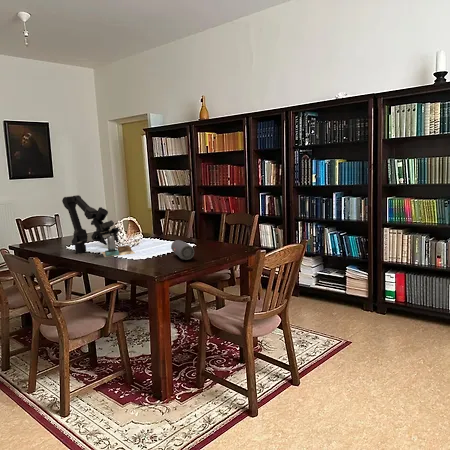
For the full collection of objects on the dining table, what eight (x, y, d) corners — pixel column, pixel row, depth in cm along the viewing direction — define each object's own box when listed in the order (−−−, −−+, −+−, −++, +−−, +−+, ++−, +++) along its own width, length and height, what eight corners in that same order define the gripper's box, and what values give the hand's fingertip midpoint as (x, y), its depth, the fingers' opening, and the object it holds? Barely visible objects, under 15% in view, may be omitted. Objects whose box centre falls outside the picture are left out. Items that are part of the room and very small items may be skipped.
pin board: (105, 258, 267) (104, 253, 267) (101, 253, 284) (101, 248, 283) (135, 255, 274) (135, 249, 274) (130, 250, 291) (130, 245, 290)
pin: (107, 255, 271) (106, 236, 269) (109, 254, 275) (108, 235, 274) (114, 255, 271) (113, 236, 269) (116, 253, 275) (114, 235, 274)
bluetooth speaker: (170, 255, 267) (169, 240, 266) (185, 254, 271) (184, 238, 269) (180, 262, 246) (179, 245, 245) (195, 260, 250) (194, 243, 248)
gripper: (92, 218, 265) (105, 237, 260) (116, 215, 280) (129, 232, 275) (85, 230, 270) (98, 249, 265) (109, 226, 285) (121, 243, 280)
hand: (112, 243), depth 271 cm, fingers open, 9 cm apart
